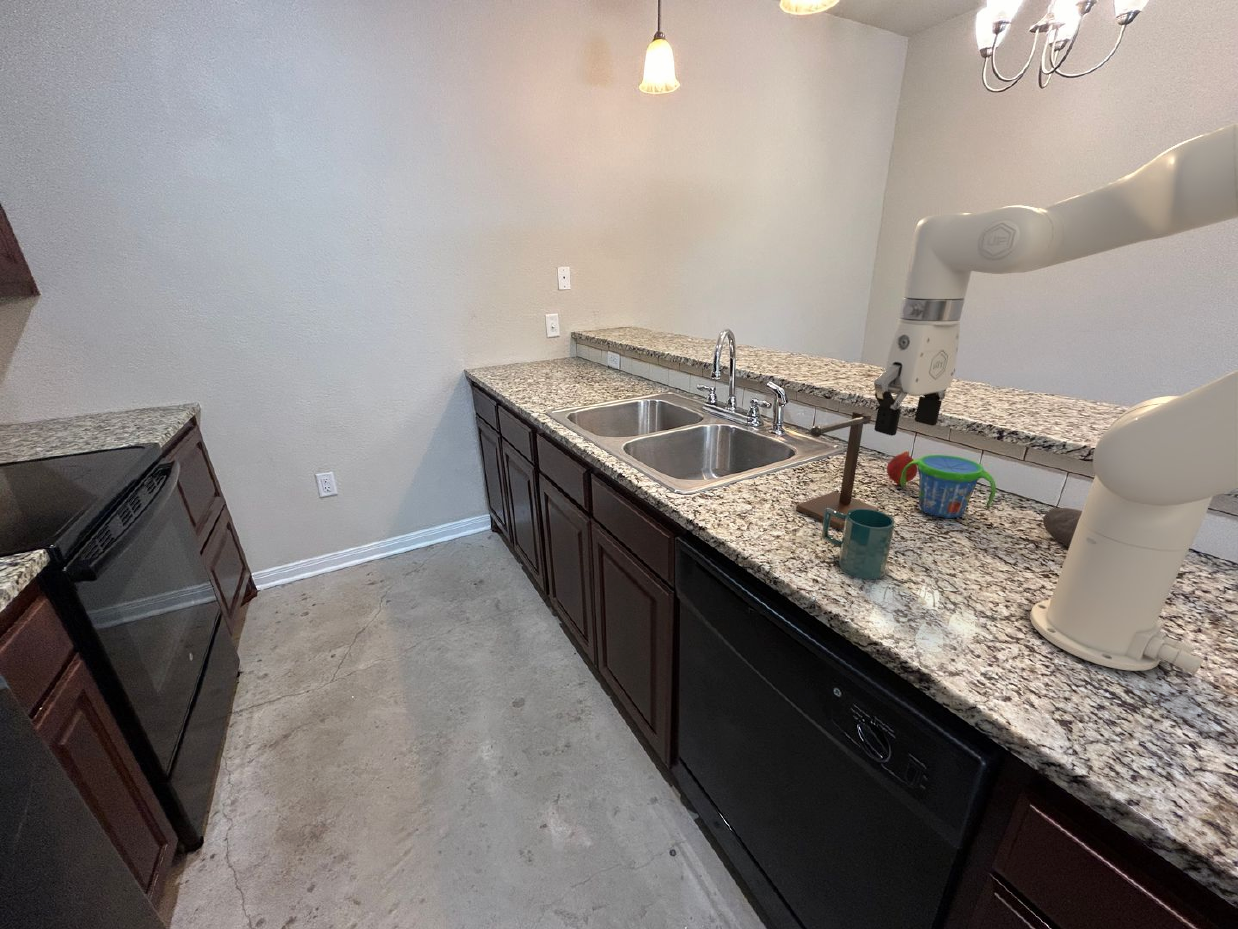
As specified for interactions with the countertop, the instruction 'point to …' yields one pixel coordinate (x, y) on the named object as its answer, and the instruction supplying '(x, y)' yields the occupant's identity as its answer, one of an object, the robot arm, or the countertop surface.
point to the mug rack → (843, 499)
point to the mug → (862, 541)
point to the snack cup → (947, 484)
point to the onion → (901, 467)
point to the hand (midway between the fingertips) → (905, 428)
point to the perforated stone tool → (1062, 523)
